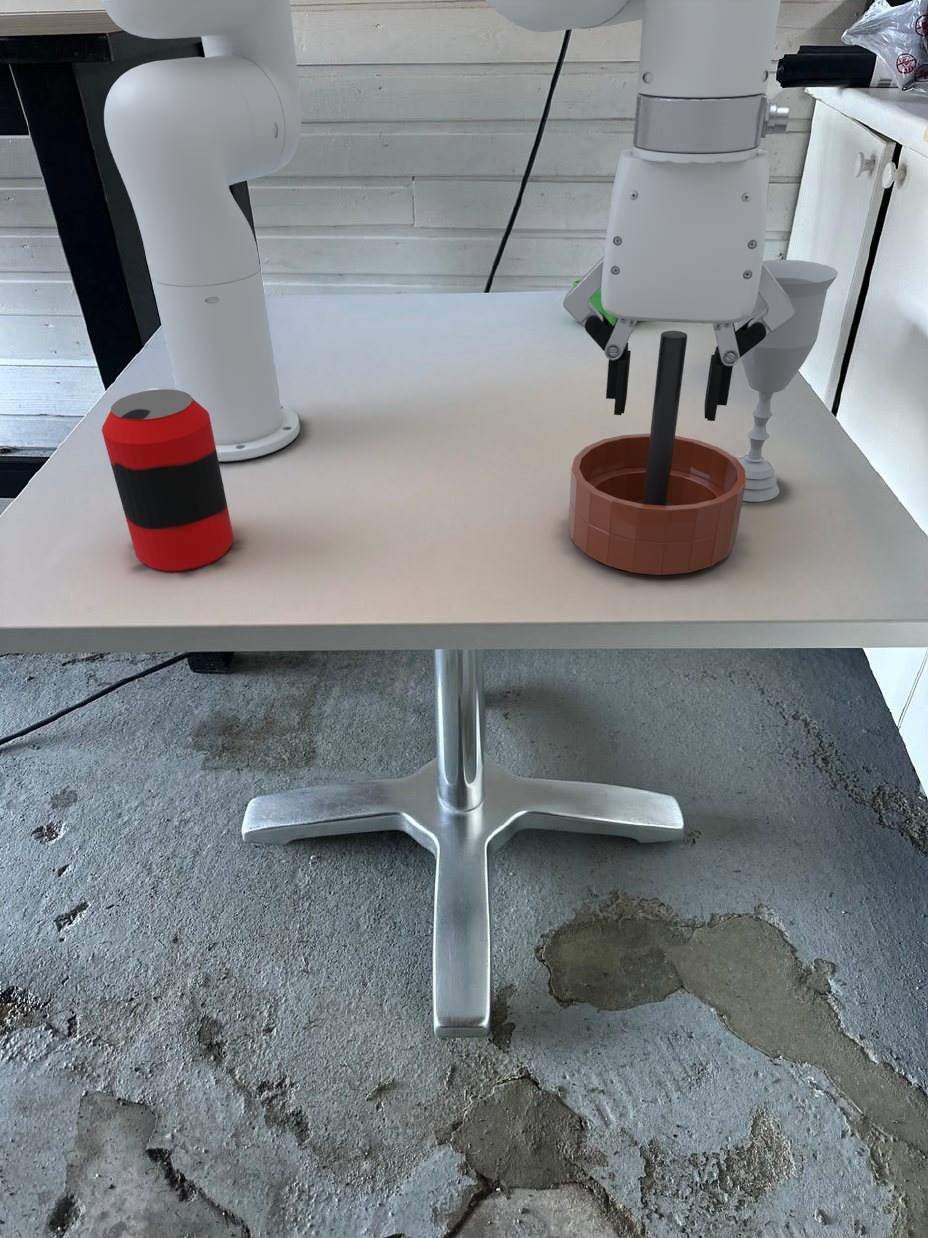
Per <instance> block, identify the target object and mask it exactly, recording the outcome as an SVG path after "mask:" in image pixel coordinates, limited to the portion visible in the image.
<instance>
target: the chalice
mask: <svg viewBox="0 0 928 1238" xmlns="http://www.w3.org/2000/svg"><path fill="white" fill-rule="evenodd" d="M763 263H764V264H765V265H766V267H767V268H768V269H769V271H770V272H771V273H772V275H773V276H774V278H775V279H776V280H777V282H778V283H779V284H780V286H781V287H782V288H783V290H784V291H785V293H786V294H787V295H788V297H789V298H790V299H791V301H792V302H793V305H794V308H795V314H794V316H793V317H792V318H791V319H789V320H788V321H786V322H785V323H784V324H782V325H781V326H780V327H778V328H777V329H776V330H774V331H773V332H770V333H769V334H768V335H766V336H765V338H764V339H763V340H762V341H761V342H759V343H758V344H757V345H756V346H754V347H753V348H752V349H751V350H749V351H748V352H747V353H745V354H744V355H743V356H742V357H740V358H739V359H740V361H741V362H740V363H741V365H742V368H743V370H744V373H745V376H746V379H747V382H748V386H749V387H750V388H751V389H752V390H754V391H756V392H758V402H757V405H756V407H755V409H754V410H753V411H752V412H751V415H752V416H753V420H754V424H753V425H754V426H753V427H752V430H751V431H750V432H748V433H747V435H746V436H747V437H748V438H749V441H750V443H749V444H750V448H749V451H748V453H747V454H745V455H744V456H742V457H738V458H736V459H737V460H738V461H739V462H740V464H741V465H742V466H743V467H744V469H745V475H746V485H745V490H744V496H743V501H744V502H750V503H751V502H752V503H753V502H755V503H756V502H758V503H760V502H766V501H770V500H772V499H775V498H777V496H778V495H779V494H780V488H779V486H778V484H777V481H778V480H777V477H776V474H775V472H776V470H775V468H774V467H773V465H772V464H771V462H770V461H768V460H766V459H765V457H764V456H763V452H762V450H763V449H762V448H763V446H764V443H765V441H767V440H768V439H769V438H770V434H769V433H768V431H767V425H768V422H769V420H770V419H771V417H773V413H772V411H771V400H772V398H773V396H774V394H775V393H778V392H782V391H784V390H785V389H786V388H787V387H788V385H790V383H791V381H792V380H793V379H794V377H795V376H796V375H797V373H798V372H799V370H800V369H801V368H802V366H803V365H804V364H805V362H806V360H807V359H808V356H809V355H810V353H811V351H812V350H813V348H814V346H815V344H816V342H817V339H818V335H819V331H820V326H821V322H822V316H823V311H824V306H825V303H826V297H827V292H828V289H829V288H830V287H831V285H832V284H833V283H834V281H835V280H836V279H837V277H838V275H839V272H838V270H836V269H835V268H834V267H832V266H829V265H827V264H823V263H818V262H813V261H806V260H798V259H797V260H796V259H769V260H768V259H767V260H763ZM766 307H767V304H766V303H765V302H764V300H763V299H762V298H761V296H760V295H759V294H758V296H757V300H756V305H755V308H754V311H753V313H752V314H751V315H750V316H749V317H748V318H746V319H744V320H742V321H739V322H737V326H736V331H737V330H738V329H739V328H740V327H742V326H743V325H744V324H745V323H747V322H748V321H749V320H750V319H752V318H755V317H757V316H758V315H759V314H760V313H761V312H762V311H764V310H765V309H766Z"/></svg>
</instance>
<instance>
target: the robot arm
mask: <svg viewBox="0 0 928 1238" xmlns="http://www.w3.org/2000/svg"><path fill="white" fill-rule="evenodd" d="M781 1H782V0H485V2H486V3H487V4H488V5H489V6H490V7H491V8H493V9H494V10H495V11H496V12H497V13H498V14H499V15H501V16H502V17H503V18H505V19H506V20H508V21H509V22H510V23H512V24H513V25H515V26H518V27H520V28H523V29H525V30H528V31H530V32H537V33H551V32H559V31H560V32H561V31H568V30H577V29H579V30H580V29H581V30H587V29H595V28H603V27H608V26H615V25H621V24H626V23H631V22H636V21H642V23H641V33H640V34H641V35H640V48H639V50H640V51H639V63H638V74H637V75H638V76H637V85H636V86H637V87H636V91H637V92H636V101H635V113H634V125H633V137H632V147H631V148H626V149H622V151H621V152H620V156H619V159H618V163H617V167H616V172H615V176H614V181H613V186H612V191H611V196H610V197H611V198H610V205H609V209H608V211H609V212H608V218H607V226H606V234H605V243H604V251H603V256H602V257H601V258H600V259H599V260H598V261H597V262H596V263H595V264H594V266H592V268H590V270H589V271H587V273H585V274H584V276H583V277H582V278H580V279H579V280H580V281H579V282H578V283H577V284H576V285H575V286H574V285H573V287H572V288H571V289H570V290H569V291H567V293H566V294H565V297H564V299H563V303H562V305H563V308H564V309H565V311H567V312H568V314H569V315H571V317H572V318H574V320H575V321H576V322H577V323H578V324H579V325H581V326H582V327H583V328H584V329H585V332H586V334H587V335H588V336H589V337H590V338H592V340H593V341H594V342H595V344H597V345H598V346H599V347H600V349H601V350H602V351H603V352H604V355H605V357H606V358H607V359H608V364H607V376H606V377H607V378H606V390H605V392H606V393H605V399H606V400H614V408H613V409H614V410H613V416H622V414H623V415H624V414H625V411H626V404H627V398H628V387H629V377H630V365H631V353H632V350H629V340H630V337H631V336H632V334H633V331H634V329H635V327H636V325H637V323H638V321H642V322H644V321H645V322H662V323H663V322H664V323H687V324H712V326H713V331H714V336H715V339H716V344H717V346H716V347H715V350H714V354H711V355H710V362H709V367H708V375H707V383H706V389H705V390H706V391H705V398H704V407H703V408H704V419H706V420H707V421H709V422H716V416H717V409H718V406H725V407H726V406H727V405H728V400H729V392H730V387H731V381H732V376H733V367H734V366H735V365H736V364H738V362H739V361H740V359H741V358H740V357H742V356H743V355H744V354H745V353H747V352H748V351H749V350H751V349H752V348H753V347H754V346H756V345H757V344H758V343H759V342H761V341H762V340H763V339H764V338H765V336H766V335H768V334H769V333H770V332H773V331H774V330H776V329H777V328H778V327H780V326H781V325H782V324H784V323H785V322H786V321H788V320H789V319H791V318H792V317H793V316H794V314H795V308H794V305H793V302H792V301H791V299H790V298H789V297H788V295H787V294H786V293H785V291H784V290H783V288H782V287H781V286H780V284H779V283H778V282H777V280H776V279H775V278H774V276H773V275H772V273H771V272H770V271H769V269H768V268H767V267H766V265H765V264H764V263H763V261H764V252H765V242H766V235H767V222H768V199H769V189H770V159H769V158H770V157H769V155H770V154H769V152H768V151H767V150H766V149H765V150H764V149H760V148H759V147H760V145H761V139H765V138H766V136H767V135H773V133H774V132H786V131H787V128H788V124H789V123H788V122H789V118H790V109H791V108H790V105H778V103H776V102H775V103H774V102H773V103H772V102H771V99H768V94H767V93H766V92H767V91H768V85H769V79H770V71H771V64H772V59H773V53H774V46H775V40H776V33H777V26H778V20H779V14H780V13H779V12H780V7H781ZM100 2H101V4H102V6H103V8H104V10H105V12H106V13H107V15H108V16H109V18H110V19H111V20H112V22H113V23H114V24H115V25H116V26H118V27H119V28H120V29H122V30H123V31H124V32H126V33H129V34H130V35H133V36H137V37H140V38H145V39H153V40H154V39H155V40H168V39H170V40H171V39H186V38H201V43H202V47H203V53H204V57H202V56H194V57H193V56H192V57H182V58H173V59H164V60H155V61H150V62H146V63H142V64H140V65H137V66H134V67H133V68H130V69H129V70H127V71H125V72H124V73H123V74H121V75H120V76H119V78H117V79H116V81H115V82H114V83H113V84H112V86H111V88H110V89H109V90H108V91H109V92H108V94H107V96H106V99H105V104H104V109H103V121H104V122H103V124H104V130H105V136H106V139H107V143H108V147H109V149H110V152H111V154H112V158H113V160H114V163H115V165H116V167H117V170H118V172H119V174H120V177H121V179H122V182H123V184H124V186H125V189H126V192H127V195H128V197H129V200H130V202H131V205H132V209H133V211H134V214H135V218H136V221H137V225H138V229H139V232H140V236H141V240H142V245H143V249H144V252H145V257H146V262H147V265H148V270H149V275H150V279H151V281H152V286H153V292H154V295H155V299H156V306H157V309H158V314H159V318H160V322H161V328H162V332H163V337H164V341H165V346H166V351H167V355H168V359H169V360H168V361H169V364H170V369H171V373H172V378H173V383H174V387H175V390H179V391H183V392H186V393H188V394H189V395H191V397H192V398H193V399H194V400H195V401H196V402H197V403H199V404H200V405H201V406H202V407H203V408H204V409H206V410H207V412H208V413H209V416H210V421H211V426H212V431H213V436H214V441H215V446H216V451H217V456H218V461H219V462H234V461H243V460H249V459H254V458H259V457H262V456H265V455H268V454H271V453H274V452H277V451H278V450H280V449H283V448H285V447H286V446H287V445H289V444H290V443H292V442H293V441H294V439H296V438H297V437H298V435H299V433H300V430H301V425H300V420H299V416H298V414H297V413H296V412H295V411H294V410H293V409H291V408H289V407H288V406H285V405H283V404H282V403H281V397H280V396H281V395H280V389H279V384H278V376H277V370H276V369H277V368H276V363H275V357H274V349H273V343H272V338H271V336H272V335H271V329H270V322H269V315H268V310H267V302H266V296H265V288H264V282H263V276H262V268H261V265H260V264H261V263H260V258H259V251H258V247H257V243H256V242H257V241H256V239H255V235H254V232H253V230H252V228H251V226H250V224H249V221H248V220H247V218H246V216H245V214H244V213H243V211H242V209H241V208H240V206H239V204H238V203H237V202H236V200H235V198H234V195H233V194H232V192H231V190H230V186H232V185H235V184H239V183H242V182H245V181H250V180H254V179H258V178H261V177H265V176H268V175H272V174H274V173H276V172H279V171H280V170H282V169H283V168H284V167H286V165H288V164H289V163H290V162H291V160H292V159H293V157H294V155H295V153H296V151H297V150H298V147H299V143H300V139H301V132H302V104H301V103H302V102H301V92H300V82H299V73H298V72H299V71H298V64H297V56H296V55H297V53H296V45H295V37H294V27H293V18H292V10H291V9H292V8H291V0H100ZM600 288H601V302H602V307H603V309H604V311H605V312H606V313H608V314H609V315H611V316H613V317H616V320H615V323H614V325H612V324H611V323H610V322H609V321H608V320H607V318H606V317H605V316H604V315H603V314H602V313H601V312H599V311H597V310H596V309H595V308H594V306H593V305H592V303H591V302H590V298H591V297H592V296H593V295H594V294H595V293H596V292H597V291H598V290H599V289H600ZM758 294H759V295H760V296H761V298H762V299H763V300H764V302H765V303H766V304H767V307H766V309H765V310H764V311H762V312H761V313H760V314H759V315H758V316H757V317H755V318H752V319H750V320H749V321H748V322H747V323H745V324H744V325H743V326H742V327H740V328H739V329H738V330H737V329H736V327H735V323H738V322H739V321H742V320H744V319H746V318H748V317H749V316H750V315H751V314H752V313H753V311H754V308H755V305H756V300H757V296H758ZM160 389H161V388H158V387H157V388H156V387H150V388H148V389H147V391H149V390H160Z"/></svg>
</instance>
